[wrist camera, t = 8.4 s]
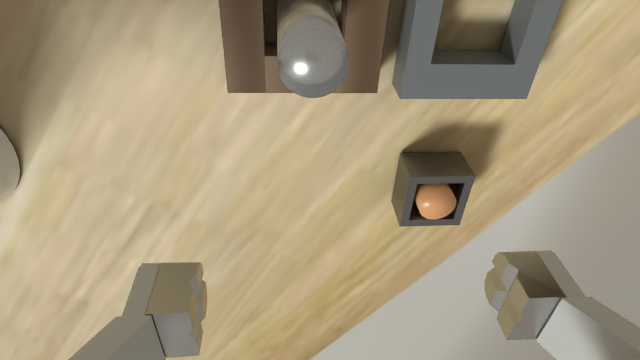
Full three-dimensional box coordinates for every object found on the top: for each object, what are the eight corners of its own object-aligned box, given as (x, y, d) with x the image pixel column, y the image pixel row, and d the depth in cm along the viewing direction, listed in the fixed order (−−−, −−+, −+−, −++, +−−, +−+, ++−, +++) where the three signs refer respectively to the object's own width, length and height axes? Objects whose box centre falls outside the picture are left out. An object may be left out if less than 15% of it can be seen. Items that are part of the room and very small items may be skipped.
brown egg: (407, 197, 44) (415, 219, 42) (413, 169, 42) (422, 191, 40) (440, 196, 45) (451, 219, 42) (448, 168, 43) (460, 190, 40)
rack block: (392, 83, 38) (400, 98, 35) (419, -91, 30) (431, -86, 27) (511, 83, 39) (526, 98, 36) (567, -85, 31) (591, -80, 28)
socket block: (231, 77, 36) (227, 92, 34) (216, -90, 29) (210, -86, 26) (370, 77, 37) (376, 93, 35) (389, -83, 30) (399, -78, 27)
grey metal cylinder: (277, 29, 34) (278, 97, 24) (276, -25, 32) (276, 27, 22) (327, 30, 34) (346, 97, 25) (329, -23, 32) (353, 28, 22)
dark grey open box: (391, 200, 46) (399, 226, 43) (400, 153, 42) (410, 177, 39) (446, 199, 46) (459, 224, 43) (460, 152, 43) (475, 176, 40)
